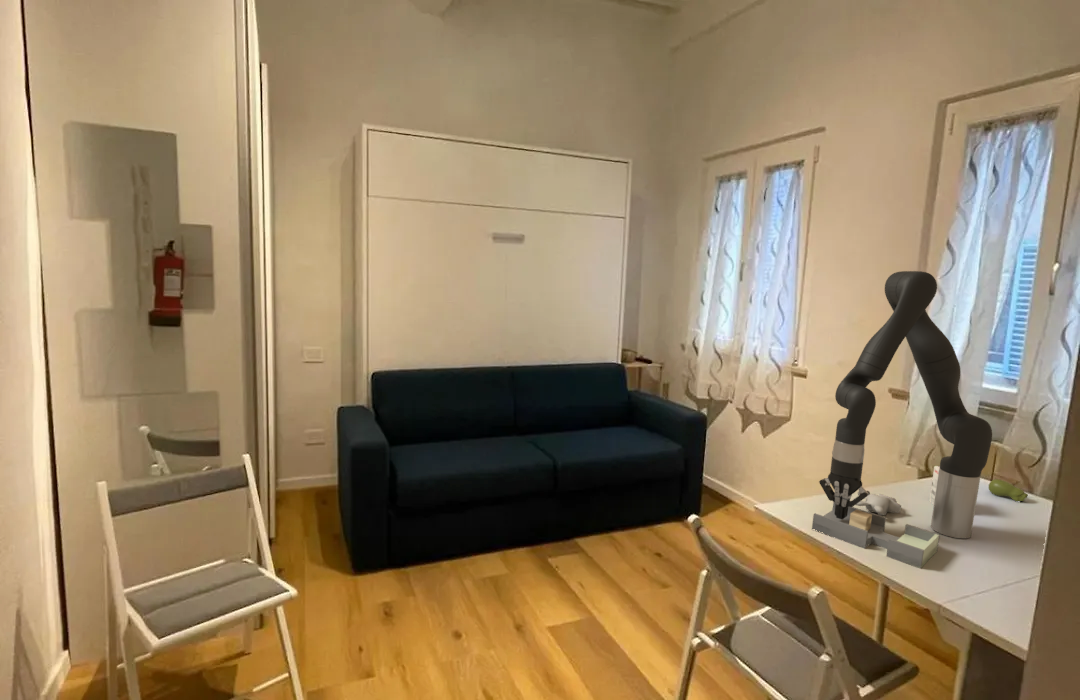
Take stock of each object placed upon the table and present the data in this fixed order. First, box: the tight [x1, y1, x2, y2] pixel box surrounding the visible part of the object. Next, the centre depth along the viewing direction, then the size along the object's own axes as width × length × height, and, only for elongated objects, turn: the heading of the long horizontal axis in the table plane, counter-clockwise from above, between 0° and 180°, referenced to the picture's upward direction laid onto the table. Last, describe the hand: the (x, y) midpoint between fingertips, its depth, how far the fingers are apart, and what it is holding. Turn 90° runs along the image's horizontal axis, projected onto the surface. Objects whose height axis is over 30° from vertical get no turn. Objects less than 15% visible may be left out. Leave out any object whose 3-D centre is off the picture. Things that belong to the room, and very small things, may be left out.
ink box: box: [929, 465, 940, 506], centre depth 180 cm, size 9×5×12 cm, turn 168°
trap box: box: [811, 501, 941, 569], centre depth 157 cm, size 14×26×4 cm, turn 43°
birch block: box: [849, 510, 872, 531], centre depth 159 cm, size 4×4×4 cm
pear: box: [988, 478, 1029, 502], centre depth 191 cm, size 6×5×10 cm
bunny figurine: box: [855, 493, 902, 516], centre depth 175 cm, size 10×5×15 cm
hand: (840, 517), depth 163 cm, fingers closed
